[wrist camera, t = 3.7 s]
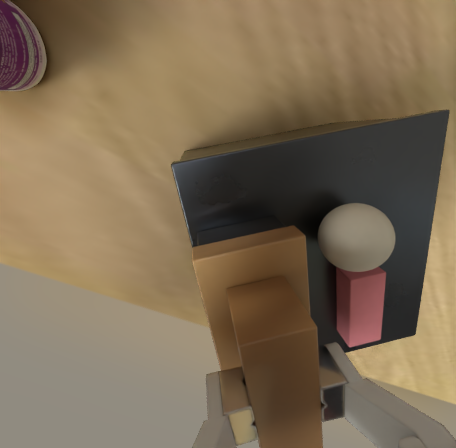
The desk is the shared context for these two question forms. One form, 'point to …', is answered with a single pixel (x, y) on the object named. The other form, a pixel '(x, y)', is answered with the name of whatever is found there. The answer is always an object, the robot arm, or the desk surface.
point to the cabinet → (329, 199)
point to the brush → (264, 324)
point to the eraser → (360, 305)
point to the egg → (356, 237)
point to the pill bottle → (19, 50)
